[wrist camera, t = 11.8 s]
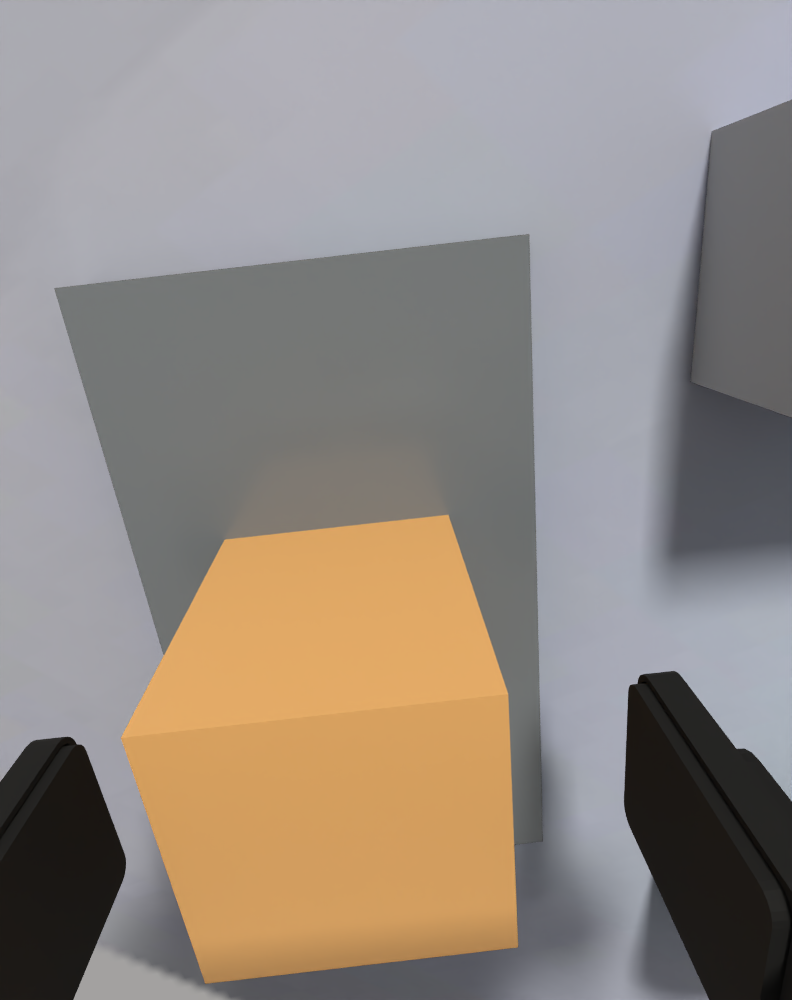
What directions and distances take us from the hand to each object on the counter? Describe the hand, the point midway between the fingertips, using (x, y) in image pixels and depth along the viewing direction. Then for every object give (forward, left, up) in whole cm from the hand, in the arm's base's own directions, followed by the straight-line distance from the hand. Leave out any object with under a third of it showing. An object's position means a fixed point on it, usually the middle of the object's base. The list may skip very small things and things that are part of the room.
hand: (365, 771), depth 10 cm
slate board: (0, 0, -6) cm, 6 cm away
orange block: (0, 0, -4) cm, 4 cm away
